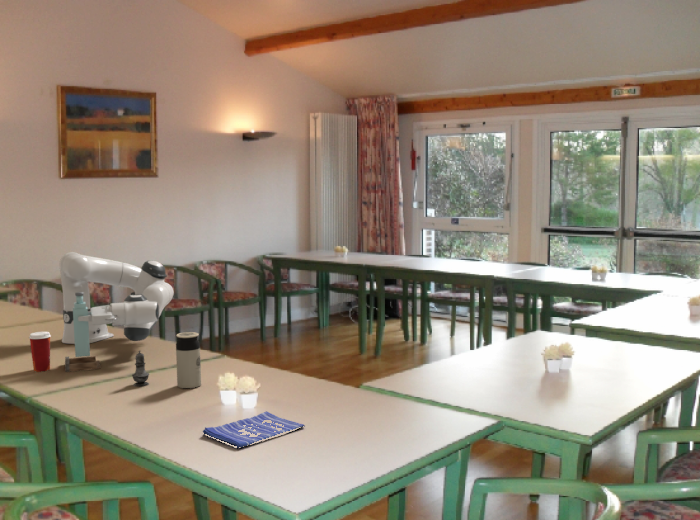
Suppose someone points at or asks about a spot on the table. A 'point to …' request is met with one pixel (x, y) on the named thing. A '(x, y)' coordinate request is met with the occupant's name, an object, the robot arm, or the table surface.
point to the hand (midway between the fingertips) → (78, 317)
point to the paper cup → (40, 350)
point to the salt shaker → (140, 371)
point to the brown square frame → (81, 363)
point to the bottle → (81, 327)
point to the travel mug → (188, 360)
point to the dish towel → (234, 438)
